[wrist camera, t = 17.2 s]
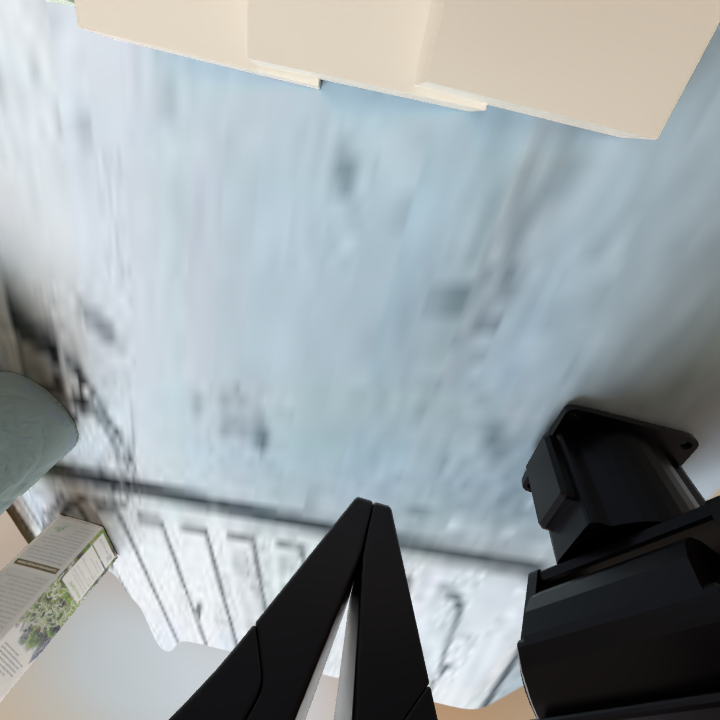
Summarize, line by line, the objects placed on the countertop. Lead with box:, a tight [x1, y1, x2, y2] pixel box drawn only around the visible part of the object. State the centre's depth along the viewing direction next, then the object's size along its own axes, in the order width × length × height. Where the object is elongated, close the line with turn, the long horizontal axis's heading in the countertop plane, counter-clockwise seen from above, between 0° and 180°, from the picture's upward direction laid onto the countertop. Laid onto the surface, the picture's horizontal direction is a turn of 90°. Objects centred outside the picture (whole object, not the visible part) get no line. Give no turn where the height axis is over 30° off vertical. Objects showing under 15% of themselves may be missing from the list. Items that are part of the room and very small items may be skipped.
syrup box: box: [0, 515, 118, 703], centre depth 34 cm, size 6×6×14 cm
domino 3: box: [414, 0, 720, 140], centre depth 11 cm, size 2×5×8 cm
